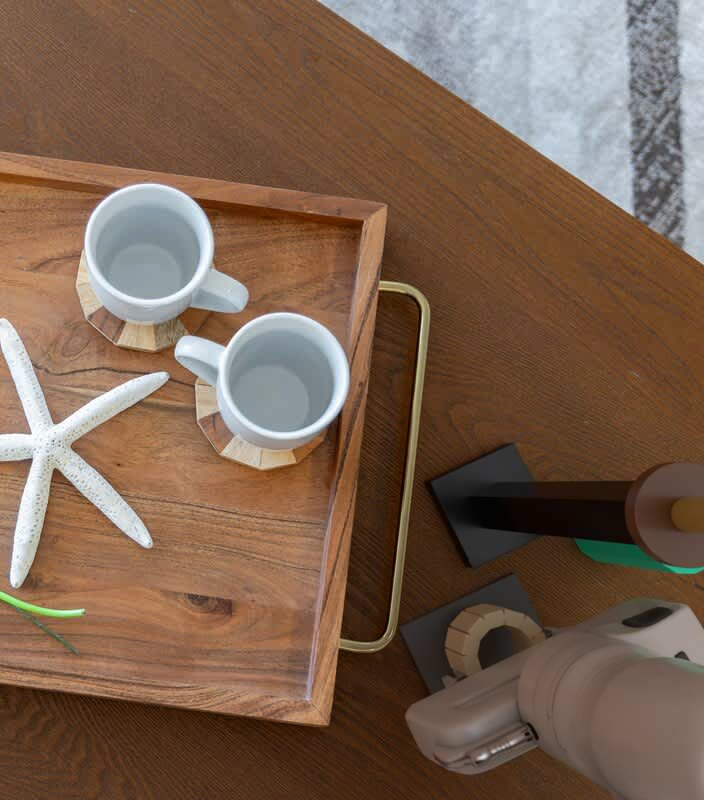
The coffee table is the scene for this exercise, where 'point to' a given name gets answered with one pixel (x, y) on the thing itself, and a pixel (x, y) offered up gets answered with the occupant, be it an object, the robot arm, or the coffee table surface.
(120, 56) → the coffee table surface
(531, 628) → the tan segmented ring
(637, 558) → the candle
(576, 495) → the stand
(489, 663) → the mat
